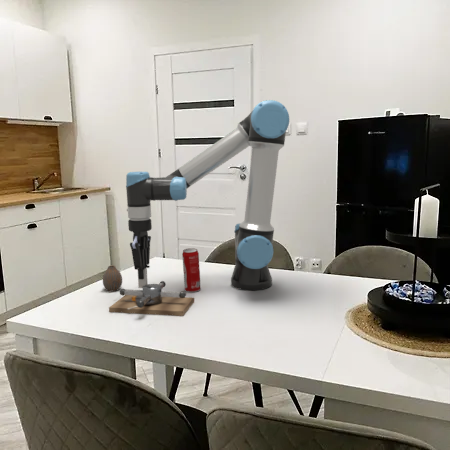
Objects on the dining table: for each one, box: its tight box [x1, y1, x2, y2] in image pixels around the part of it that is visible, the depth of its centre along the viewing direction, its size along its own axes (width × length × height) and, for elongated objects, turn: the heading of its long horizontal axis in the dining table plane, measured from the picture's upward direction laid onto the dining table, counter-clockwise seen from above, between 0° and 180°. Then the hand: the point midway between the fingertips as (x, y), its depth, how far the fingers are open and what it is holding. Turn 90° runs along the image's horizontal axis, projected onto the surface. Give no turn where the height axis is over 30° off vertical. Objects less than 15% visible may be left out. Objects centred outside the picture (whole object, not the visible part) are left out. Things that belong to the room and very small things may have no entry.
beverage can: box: [181, 247, 202, 293], centre depth 161 cm, size 6×6×15 cm
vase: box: [102, 264, 123, 292], centre depth 164 cm, size 7×7×9 cm
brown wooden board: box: [108, 295, 195, 317], centre depth 145 cm, size 24×14×2 cm, turn 79°
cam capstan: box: [119, 280, 187, 308], centre depth 145 cm, size 22×22×5 cm
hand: (143, 287), depth 153 cm, fingers closed
